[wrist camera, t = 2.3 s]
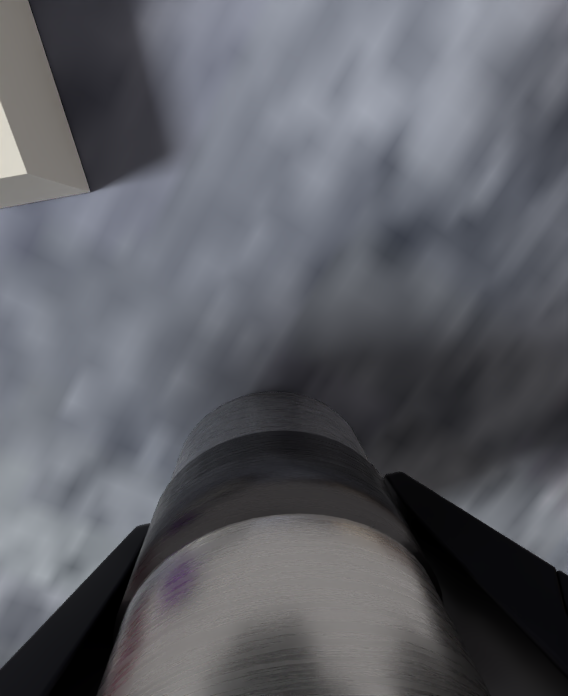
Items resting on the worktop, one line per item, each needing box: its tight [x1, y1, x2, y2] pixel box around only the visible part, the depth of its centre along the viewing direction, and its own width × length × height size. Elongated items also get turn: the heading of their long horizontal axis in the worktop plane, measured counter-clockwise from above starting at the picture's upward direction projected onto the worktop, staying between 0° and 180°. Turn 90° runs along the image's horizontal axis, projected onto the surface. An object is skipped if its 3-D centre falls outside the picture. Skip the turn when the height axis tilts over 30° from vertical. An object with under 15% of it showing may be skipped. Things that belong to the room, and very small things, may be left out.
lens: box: [96, 392, 491, 696], centre depth 6 cm, size 5×5×6 cm
